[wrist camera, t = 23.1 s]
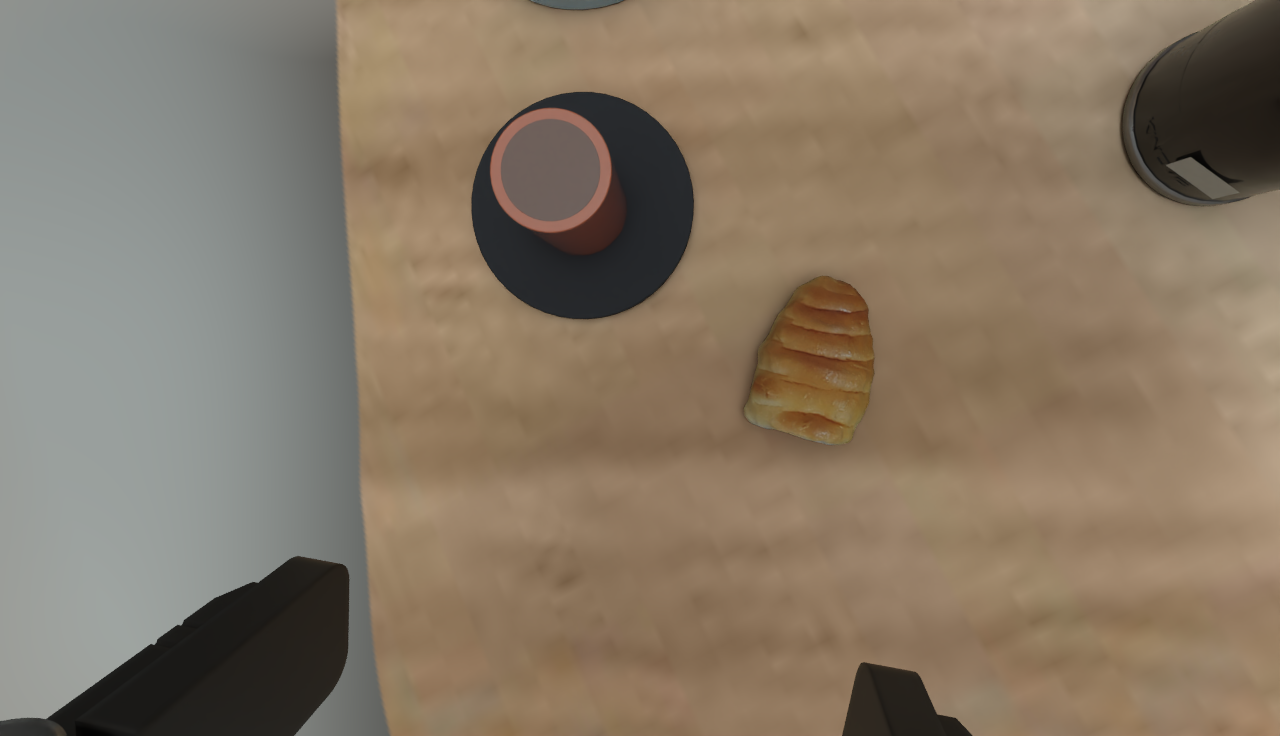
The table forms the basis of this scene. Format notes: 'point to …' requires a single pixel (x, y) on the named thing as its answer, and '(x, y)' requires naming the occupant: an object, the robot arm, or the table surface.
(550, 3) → the tiered blue disc stack
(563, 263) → the mat
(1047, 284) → the table surface
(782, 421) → the pastry
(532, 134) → the tumbler
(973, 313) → the table surface
